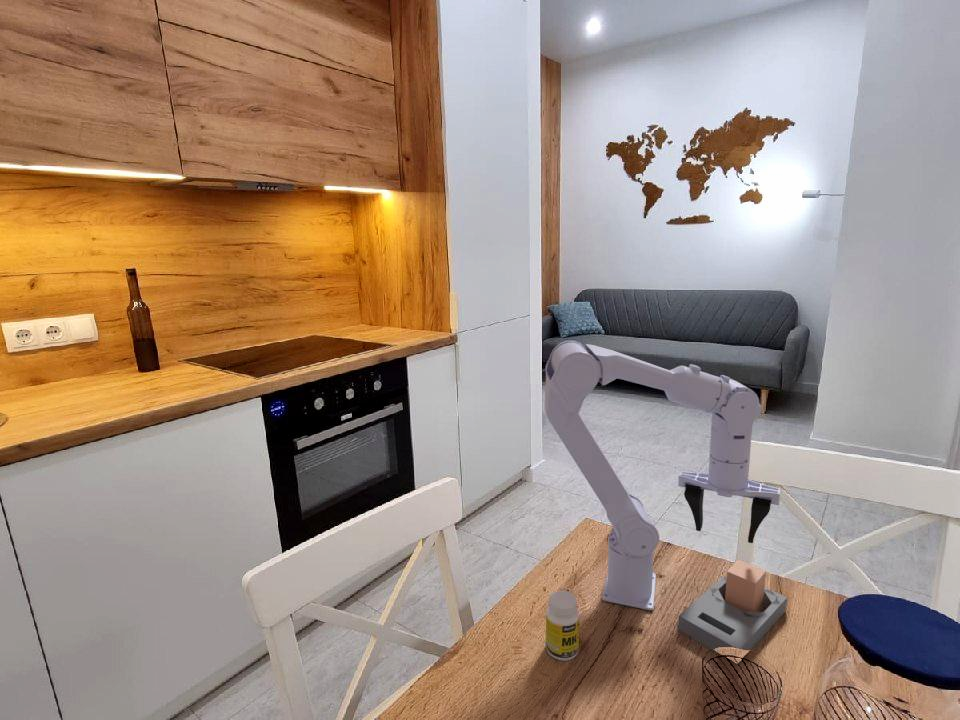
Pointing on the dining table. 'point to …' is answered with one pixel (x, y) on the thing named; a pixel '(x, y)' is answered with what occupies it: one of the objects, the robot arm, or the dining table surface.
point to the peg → (745, 587)
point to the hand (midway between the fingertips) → (724, 533)
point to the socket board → (729, 619)
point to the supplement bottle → (562, 626)
